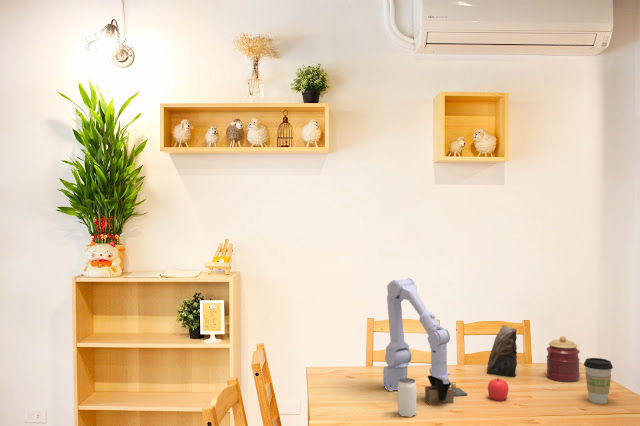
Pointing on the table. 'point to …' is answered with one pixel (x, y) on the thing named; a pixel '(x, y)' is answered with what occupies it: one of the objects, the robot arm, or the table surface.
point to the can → (407, 397)
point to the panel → (457, 390)
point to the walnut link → (433, 397)
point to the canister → (563, 360)
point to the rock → (503, 353)
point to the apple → (498, 389)
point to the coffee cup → (598, 379)
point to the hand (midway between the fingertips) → (439, 397)
